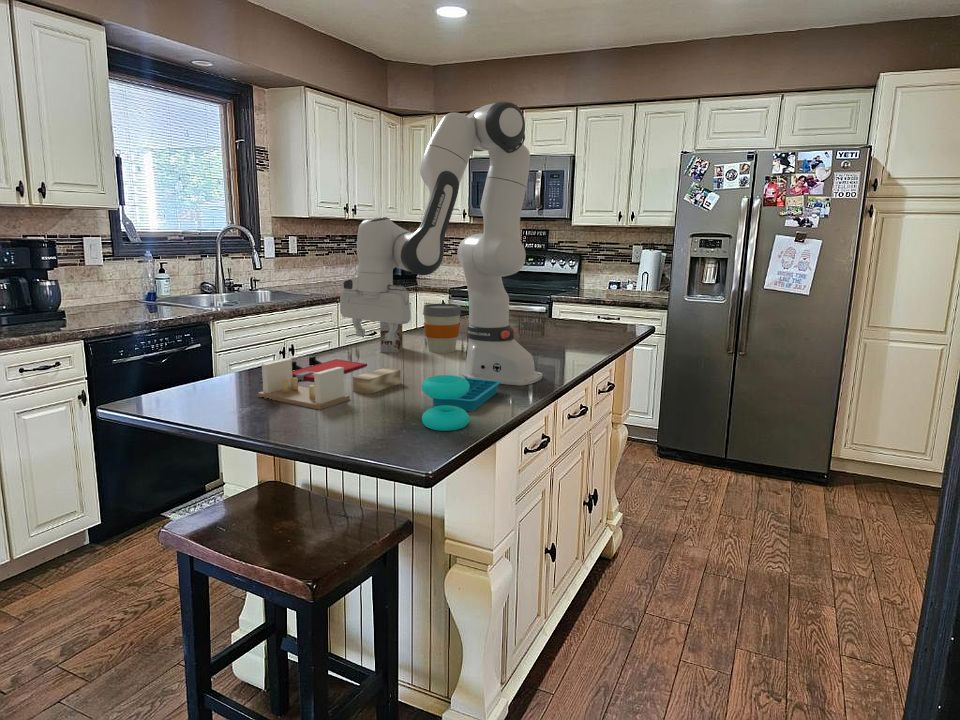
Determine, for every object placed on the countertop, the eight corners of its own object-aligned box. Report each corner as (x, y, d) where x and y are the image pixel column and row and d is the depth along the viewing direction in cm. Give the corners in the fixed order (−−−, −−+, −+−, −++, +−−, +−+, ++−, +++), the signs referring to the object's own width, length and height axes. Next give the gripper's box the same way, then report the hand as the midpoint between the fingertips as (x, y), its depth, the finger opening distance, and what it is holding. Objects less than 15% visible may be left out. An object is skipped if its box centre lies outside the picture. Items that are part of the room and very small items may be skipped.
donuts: (476, 376, 136) (458, 387, 127) (476, 421, 138) (458, 435, 129) (434, 372, 139) (413, 382, 130) (434, 416, 141) (413, 429, 132)
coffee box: (399, 353, 208) (399, 303, 205) (379, 352, 208) (379, 303, 205) (403, 347, 217) (402, 300, 214) (384, 347, 217) (383, 300, 214)
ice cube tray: (501, 392, 163) (502, 381, 162) (474, 414, 144) (474, 401, 144) (459, 388, 167) (459, 377, 166) (427, 408, 148) (427, 396, 148)
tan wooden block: (385, 382, 172) (385, 367, 171) (400, 384, 169) (400, 369, 169) (353, 392, 161) (352, 377, 160) (368, 395, 158) (368, 379, 157)
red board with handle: (253, 381, 169) (298, 389, 163) (253, 371, 168) (298, 379, 162) (326, 362, 196) (367, 368, 190) (326, 353, 195) (367, 359, 189)
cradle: (349, 399, 153) (348, 367, 151) (319, 409, 145) (318, 375, 143) (289, 388, 163) (287, 357, 161) (258, 396, 154) (256, 364, 153)
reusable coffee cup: (427, 346, 221) (427, 302, 218) (463, 347, 219) (463, 304, 216) (419, 353, 209) (419, 307, 205) (457, 354, 207) (457, 308, 204)
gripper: (416, 285, 157) (415, 341, 160) (352, 280, 167) (352, 332, 170) (400, 287, 152) (400, 344, 154) (335, 281, 162) (336, 335, 164)
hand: (374, 338), depth 162 cm, fingers open, 8 cm apart
